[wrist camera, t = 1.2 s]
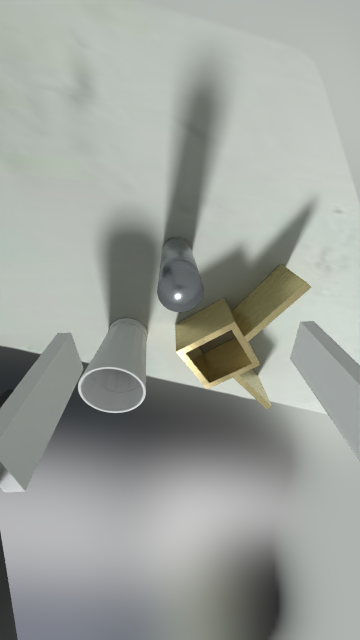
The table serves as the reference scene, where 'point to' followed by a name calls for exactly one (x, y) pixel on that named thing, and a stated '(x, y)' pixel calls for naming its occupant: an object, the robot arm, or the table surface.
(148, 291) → the table surface
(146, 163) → the table surface
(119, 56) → the table surface
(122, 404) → the cup
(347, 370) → the robot arm
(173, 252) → the pin
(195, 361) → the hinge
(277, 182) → the table surface
